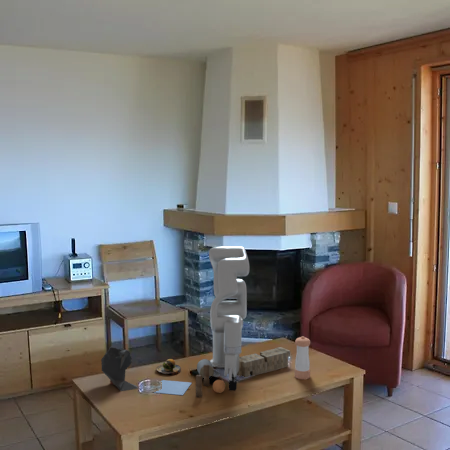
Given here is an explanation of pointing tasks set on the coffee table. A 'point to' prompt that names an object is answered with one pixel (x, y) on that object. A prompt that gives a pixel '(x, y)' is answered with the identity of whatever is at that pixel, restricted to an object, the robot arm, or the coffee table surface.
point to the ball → (219, 386)
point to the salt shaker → (302, 358)
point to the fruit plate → (169, 367)
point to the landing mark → (174, 387)
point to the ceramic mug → (211, 370)
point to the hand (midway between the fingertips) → (232, 389)
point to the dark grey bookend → (117, 367)
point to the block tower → (263, 362)
